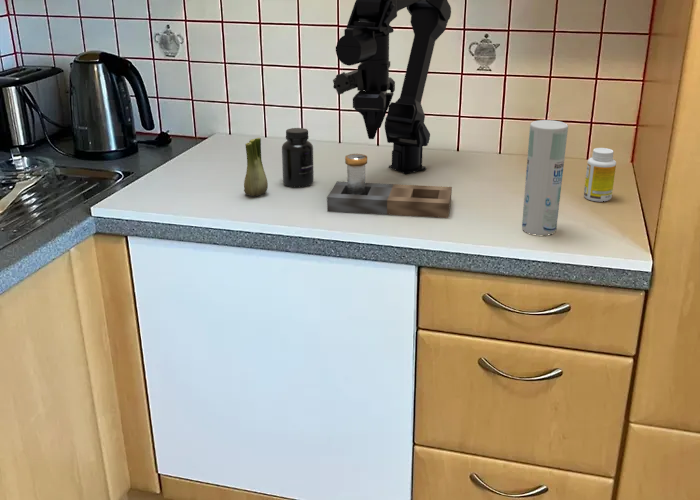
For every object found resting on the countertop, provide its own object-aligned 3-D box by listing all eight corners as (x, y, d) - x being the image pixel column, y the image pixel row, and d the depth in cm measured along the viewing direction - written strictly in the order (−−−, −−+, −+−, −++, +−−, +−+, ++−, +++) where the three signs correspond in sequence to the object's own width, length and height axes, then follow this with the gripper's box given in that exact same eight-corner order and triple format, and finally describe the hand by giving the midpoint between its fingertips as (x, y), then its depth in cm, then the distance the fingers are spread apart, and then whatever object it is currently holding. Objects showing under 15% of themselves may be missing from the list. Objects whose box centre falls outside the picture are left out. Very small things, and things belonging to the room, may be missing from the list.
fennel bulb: (260, 188, 164) (257, 134, 159) (274, 193, 161) (271, 138, 156) (238, 195, 160) (234, 140, 156) (253, 200, 157) (249, 144, 152)
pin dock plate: (451, 200, 156) (451, 186, 155) (448, 218, 147) (448, 203, 145) (337, 194, 160) (336, 181, 159) (327, 211, 151) (327, 197, 150)
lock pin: (359, 199, 157) (358, 152, 153) (371, 204, 154) (371, 157, 150) (341, 203, 155) (340, 156, 151) (353, 209, 152) (353, 161, 148)
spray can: (550, 239, 137) (561, 130, 129) (515, 232, 140) (524, 125, 132) (561, 227, 142) (573, 122, 134) (528, 221, 145) (537, 118, 137)
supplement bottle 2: (617, 200, 155) (624, 151, 151) (596, 204, 153) (602, 155, 149) (598, 192, 160) (604, 145, 156) (577, 196, 158) (583, 148, 154)
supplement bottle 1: (309, 189, 163) (308, 135, 159) (279, 187, 165) (276, 133, 160) (317, 179, 170) (315, 126, 165) (287, 177, 171) (285, 125, 166)
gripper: (344, 50, 163) (345, 121, 169) (326, 65, 146) (328, 143, 152) (395, 50, 161) (394, 122, 167) (383, 66, 144) (383, 145, 151)
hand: (374, 133), depth 159 cm, fingers open, 9 cm apart
